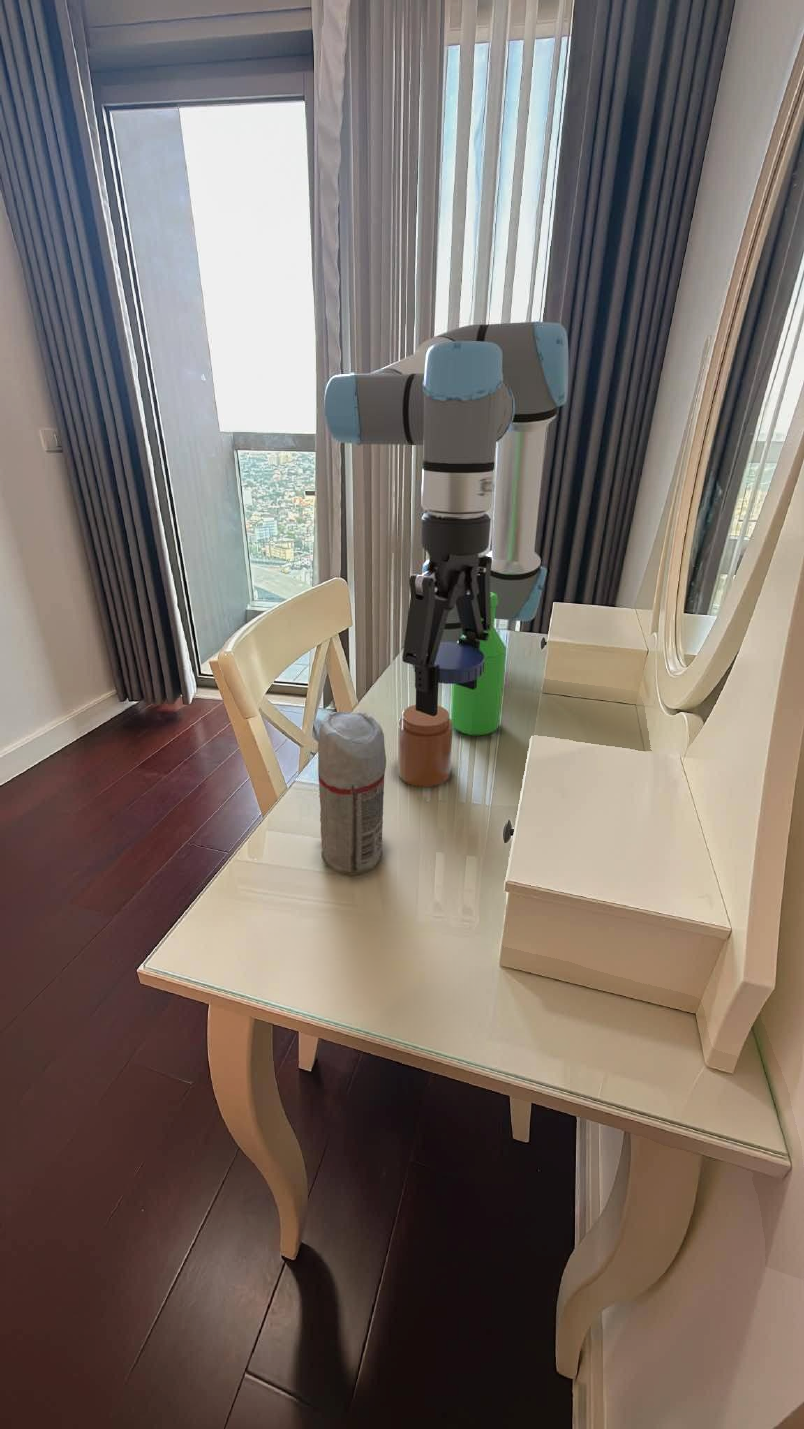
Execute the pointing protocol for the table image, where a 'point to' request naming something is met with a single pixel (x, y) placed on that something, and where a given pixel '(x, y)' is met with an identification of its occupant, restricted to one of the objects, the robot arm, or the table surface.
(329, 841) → the spray can
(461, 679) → the lid
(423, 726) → the jar
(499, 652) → the bottle
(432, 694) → the robot arm
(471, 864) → the table surface
